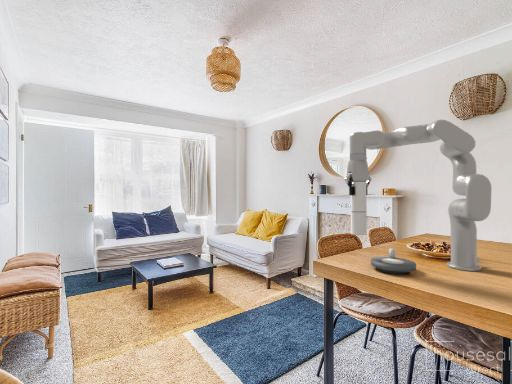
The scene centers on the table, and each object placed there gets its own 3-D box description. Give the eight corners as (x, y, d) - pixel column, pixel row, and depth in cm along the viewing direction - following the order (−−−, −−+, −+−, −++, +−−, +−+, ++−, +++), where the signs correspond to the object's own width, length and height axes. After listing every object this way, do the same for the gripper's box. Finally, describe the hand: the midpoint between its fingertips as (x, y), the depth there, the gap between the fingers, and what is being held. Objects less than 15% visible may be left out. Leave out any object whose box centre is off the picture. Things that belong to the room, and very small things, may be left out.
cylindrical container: (364, 232, 133) (363, 182, 133) (368, 235, 126) (368, 181, 126) (349, 232, 134) (348, 182, 134) (352, 235, 127) (352, 181, 127)
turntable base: (390, 265, 128) (390, 261, 128) (414, 271, 117) (414, 268, 117) (372, 268, 123) (372, 264, 123) (395, 275, 112) (395, 271, 112)
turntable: (371, 259, 132) (371, 247, 132) (413, 263, 125) (413, 250, 125) (369, 268, 116) (369, 254, 116) (418, 273, 108) (418, 258, 108)
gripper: (365, 160, 137) (365, 195, 137) (338, 158, 130) (338, 195, 130) (377, 158, 130) (377, 195, 130) (349, 156, 123) (350, 195, 123)
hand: (358, 194), depth 130 cm, fingers closed on cylindrical container, 7 cm apart
